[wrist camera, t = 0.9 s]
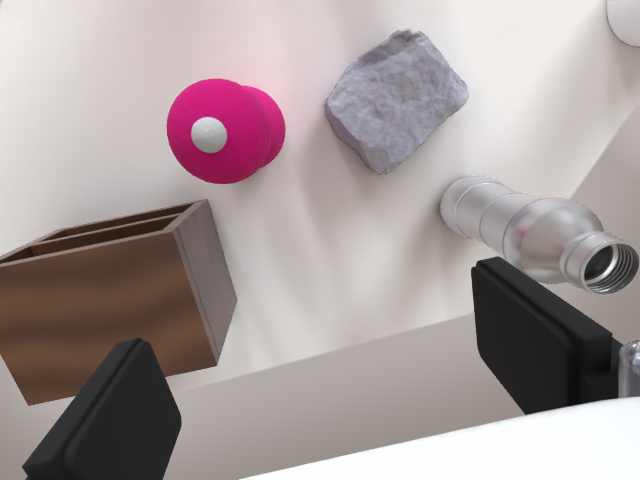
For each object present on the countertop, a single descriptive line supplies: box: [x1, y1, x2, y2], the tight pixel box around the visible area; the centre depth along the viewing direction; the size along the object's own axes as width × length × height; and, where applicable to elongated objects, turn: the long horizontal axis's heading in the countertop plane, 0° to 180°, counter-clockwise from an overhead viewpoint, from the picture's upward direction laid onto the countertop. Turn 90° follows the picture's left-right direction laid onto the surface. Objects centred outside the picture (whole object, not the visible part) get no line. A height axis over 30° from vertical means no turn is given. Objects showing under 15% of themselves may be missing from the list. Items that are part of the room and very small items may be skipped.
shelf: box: [0, 199, 237, 406], centre depth 35 cm, size 12×16×12 cm
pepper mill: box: [167, 79, 285, 184], centre depth 28 cm, size 7×7×20 cm
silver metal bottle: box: [440, 175, 640, 296], centre depth 32 cm, size 6×7×20 cm
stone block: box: [325, 29, 468, 175], centre depth 36 cm, size 12×5×10 cm
